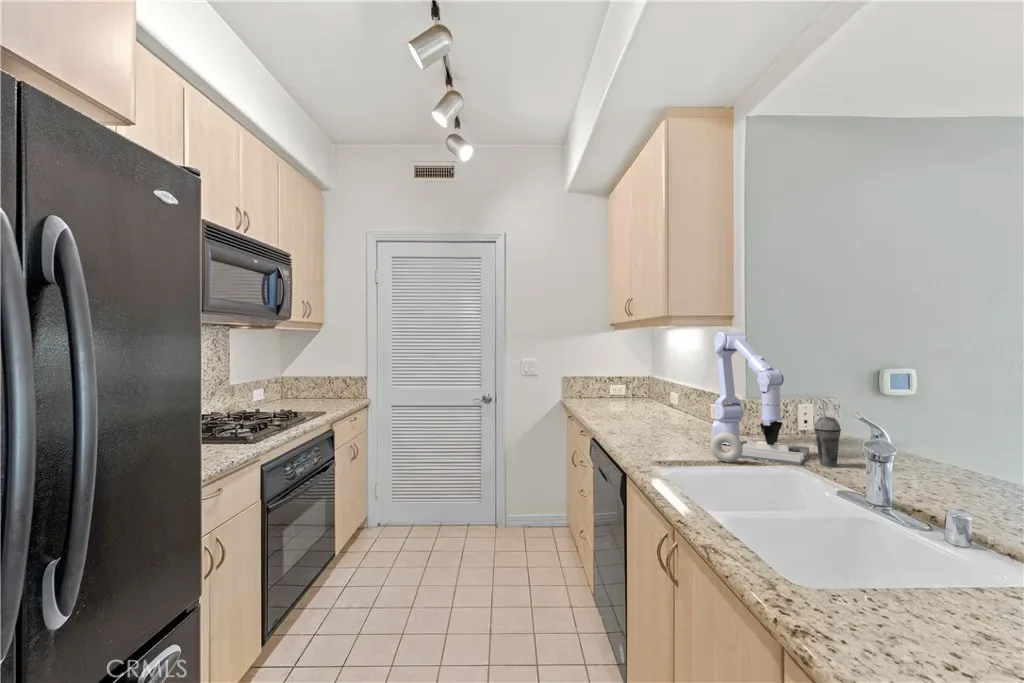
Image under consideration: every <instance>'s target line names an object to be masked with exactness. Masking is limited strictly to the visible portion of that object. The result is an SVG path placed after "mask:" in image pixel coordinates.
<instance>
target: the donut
mask: <svg viewBox="0 0 1024 683" xmlns="http://www.w3.org/2000/svg"><path fill="white" fill-rule="evenodd" d="M740 441H741V440H740V438H739V439H738V438H737V437H736V436H735V435H733V434H731V433H727V432H723V433H719V434H717V435H715V436H714V437H713V436H712V438H711V441H710V445H709V446H710V451H711V453H712V455H713V457H715V458H716V459H717V460H719V461H720V460H721V462H723V461H725V462H724V463H733V462H736V461H738V459H741V458H740V456H741V454H742V450H743V448H742V446H743V443H741V442H742V441H741V442H740ZM724 442H727V443H729V444H730V445H729V446H731V449H730V451H727V452H726V451H724V450H723V449H722V445H723V444H722V443H724Z"/></svg>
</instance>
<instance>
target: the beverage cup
mask: <svg viewBox="0 0 1024 683" xmlns="http://www.w3.org/2000/svg"><path fill="white" fill-rule="evenodd" d="M821 406H822V407H821V408H822V413H823V416H821V417H820V418H818V420H816V422H815V424H814V428H813V429H814V434H815V437H816V444H817V454H818V460H819V465H820V466H821V467H826V468H837V467H838V466H837V465H838V459H839V458H838V456H839V446H840V443H839V442H840V438H841V432H842V429H841V424H840V423H839V422H838V420H836V419H835V418H833V417H830V416H826V411H825V403H824V402H821Z"/></svg>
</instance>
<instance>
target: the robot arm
mask: <svg viewBox="0 0 1024 683" xmlns="http://www.w3.org/2000/svg"><path fill="white" fill-rule="evenodd" d="M747 338H748V337H747V336H746V335H745V333H744V332H743V331H718V333H716V335H715V337H713V341H714V351H715V353H716V354H715V355H716V364H717V365H716V366H717V375H718V376H717V377H718V383H719V393H720V396H719V397H718V398H717V399H716V400H715V401H714V409H713V415H714V416H715V420H713V422H712V429H711V430H712V438H713V437H714V436H715V435H717V434H719V433H723V432H727V433H731V434H733V435H735V436H736V437H737V438H738V439H739V440H740V422H741V421H742V420H741V419H743V418H744V414H745V410H744V407H743V405H742V400H741V399H740V398H738V397H737V396H736V391H735V383H734V371H733V363H732V356H733V355H734V354H735V353H736V352H739V354H740V355H742V356H743V357H744V358H745V360H747V361H748V363H747V366H748V367H749V368H750V370H751V371H752V372H753V373H754V374H755V376H756V377H757V378H756V379H757V384H758V385H759V390H760V392H761V420H762V421H763V422H762V423H760V424H759V425H760V428H761V429H762V432H763V435H764V438H765V442H766V443H767V444H768V445H774V443H778V438H779V434H780V430H781V427H782V426H783V422H782V421H785V417H781V386H782V385H783V384H784V382H785V376H784V374H783V372H782V370H780V369H777V368H773V367H772V365H771V364H770V363H769V362H768V361H767V360H766V358H765V357H764V355H760V354H759V355H758V354H756V352H755V351H754V350H753V348H752V347H751V345H750V344H749V343H748V339H747ZM740 442H741V443H742V444H744V443H743V441H742V440H740ZM723 444H726V445H727V446H731V445H730V444H729V443H727V442H724V443H722V445H723ZM726 445H725V446H726Z"/></svg>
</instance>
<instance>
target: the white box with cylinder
mask: <svg viewBox="0 0 1024 683" xmlns="http://www.w3.org/2000/svg"><path fill="white" fill-rule="evenodd" d="M755 442H756V448H763V449H772V450H781V451H790V452H799V453H800V449H797V448H790V445H791V444H789V443H782V442H777V443H774V445H768V444H767V443H766V441H760V440H757V441H755Z"/></svg>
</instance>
